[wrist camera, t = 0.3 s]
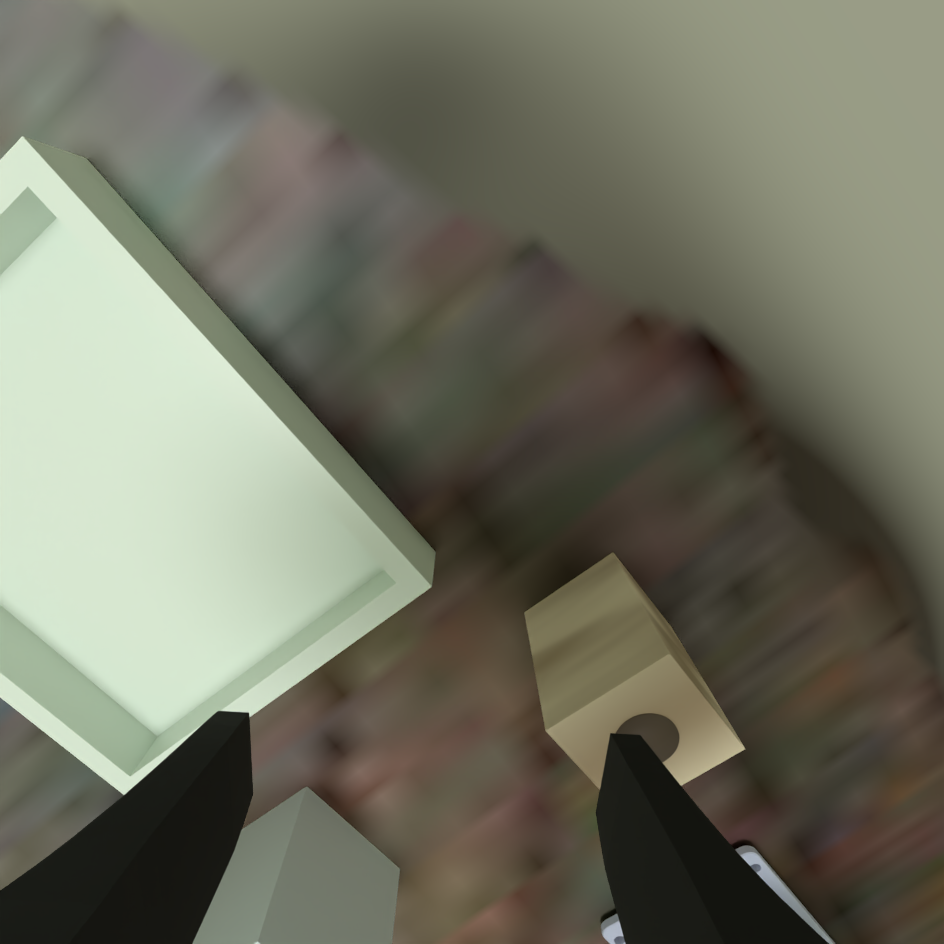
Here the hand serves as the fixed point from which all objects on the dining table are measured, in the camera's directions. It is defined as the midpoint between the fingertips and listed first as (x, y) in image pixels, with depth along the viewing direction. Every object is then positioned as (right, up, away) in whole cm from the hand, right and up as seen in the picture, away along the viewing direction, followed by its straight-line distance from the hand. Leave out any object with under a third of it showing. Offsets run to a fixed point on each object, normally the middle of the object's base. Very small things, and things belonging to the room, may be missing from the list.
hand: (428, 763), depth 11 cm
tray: (-11, +5, +8) cm, 15 cm away
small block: (+6, 0, +10) cm, 12 cm away
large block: (-6, -11, +14) cm, 19 cm away
